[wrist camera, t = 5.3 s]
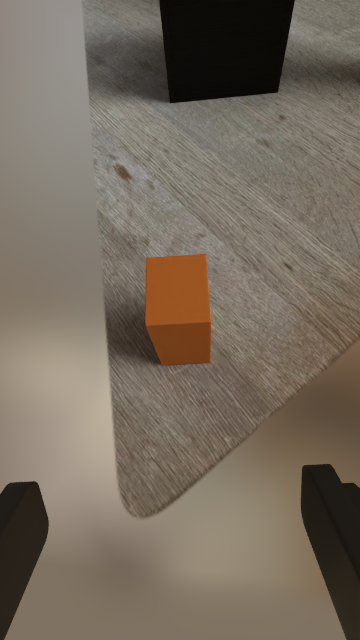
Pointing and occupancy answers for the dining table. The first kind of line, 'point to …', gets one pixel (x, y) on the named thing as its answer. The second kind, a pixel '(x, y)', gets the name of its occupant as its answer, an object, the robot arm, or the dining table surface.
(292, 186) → the dining table surface
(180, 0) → the bin
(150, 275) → the block
